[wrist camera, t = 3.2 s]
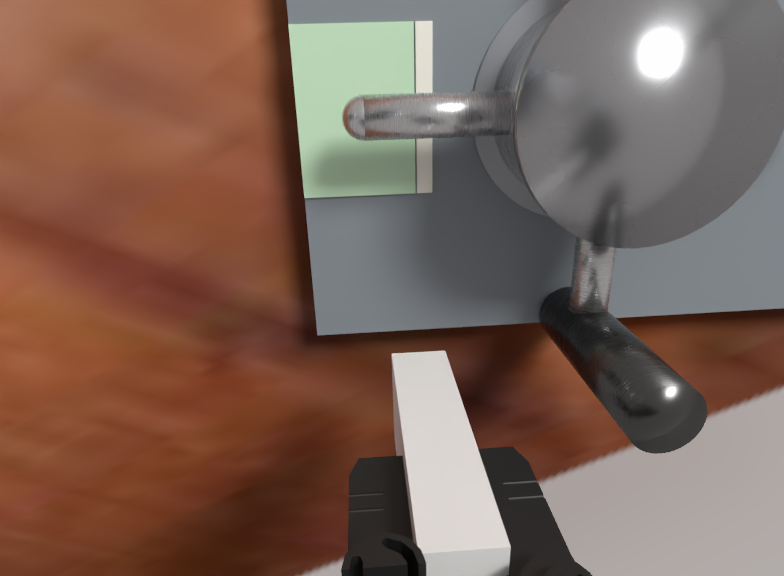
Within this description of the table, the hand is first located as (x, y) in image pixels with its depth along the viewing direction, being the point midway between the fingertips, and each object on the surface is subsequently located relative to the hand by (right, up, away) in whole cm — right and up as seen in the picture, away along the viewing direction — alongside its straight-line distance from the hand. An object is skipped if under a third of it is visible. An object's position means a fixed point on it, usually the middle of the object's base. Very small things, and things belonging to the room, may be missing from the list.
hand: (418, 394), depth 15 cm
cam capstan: (+5, +9, +1) cm, 10 cm away
